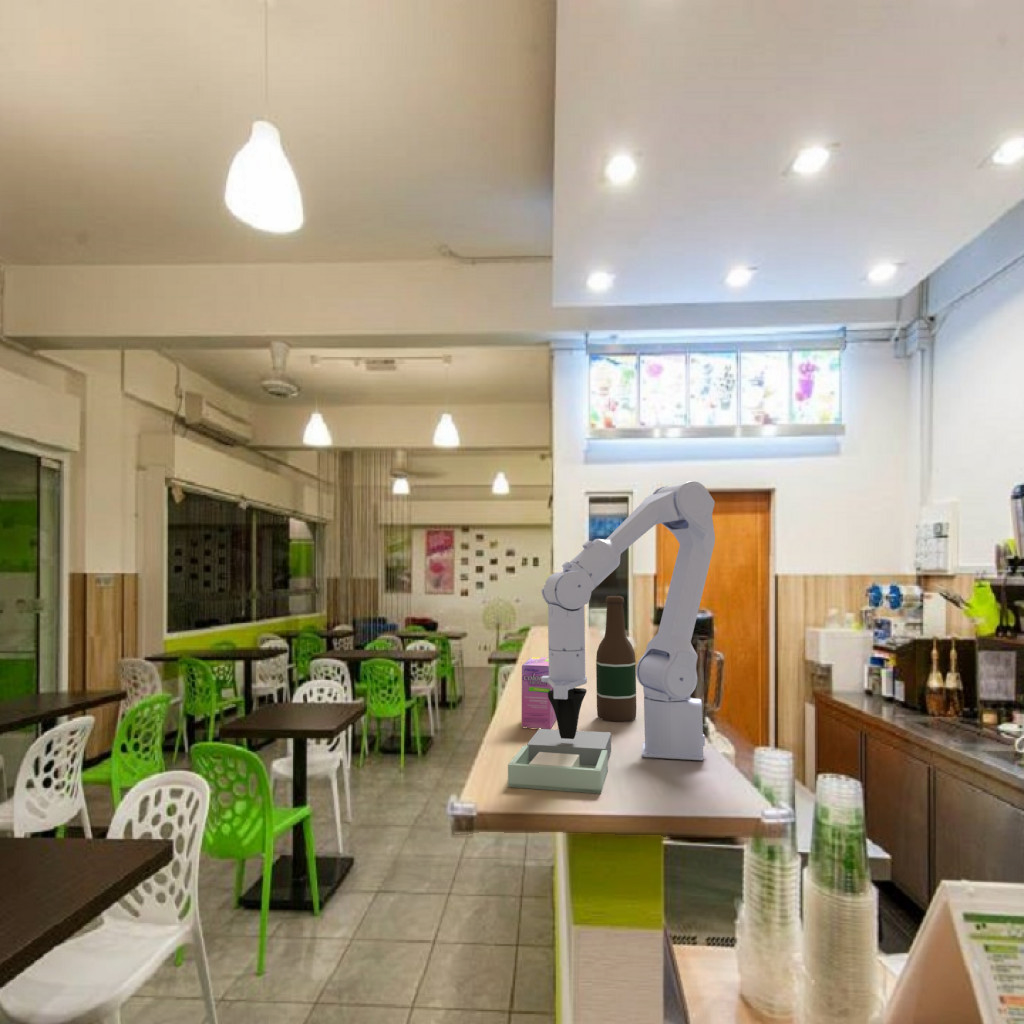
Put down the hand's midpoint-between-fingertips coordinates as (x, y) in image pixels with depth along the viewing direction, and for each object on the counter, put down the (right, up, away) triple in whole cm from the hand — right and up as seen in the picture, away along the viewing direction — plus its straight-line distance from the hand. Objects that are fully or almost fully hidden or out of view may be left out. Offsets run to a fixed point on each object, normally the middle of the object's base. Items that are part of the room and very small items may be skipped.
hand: (567, 737), depth 106 cm
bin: (-2, -3, -7) cm, 8 cm away
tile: (-3, 0, -8) cm, 9 cm away
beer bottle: (+12, -6, +30) cm, 33 cm away
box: (-3, -6, +26) cm, 27 cm away
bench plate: (+1, -4, +3) cm, 5 cm away
